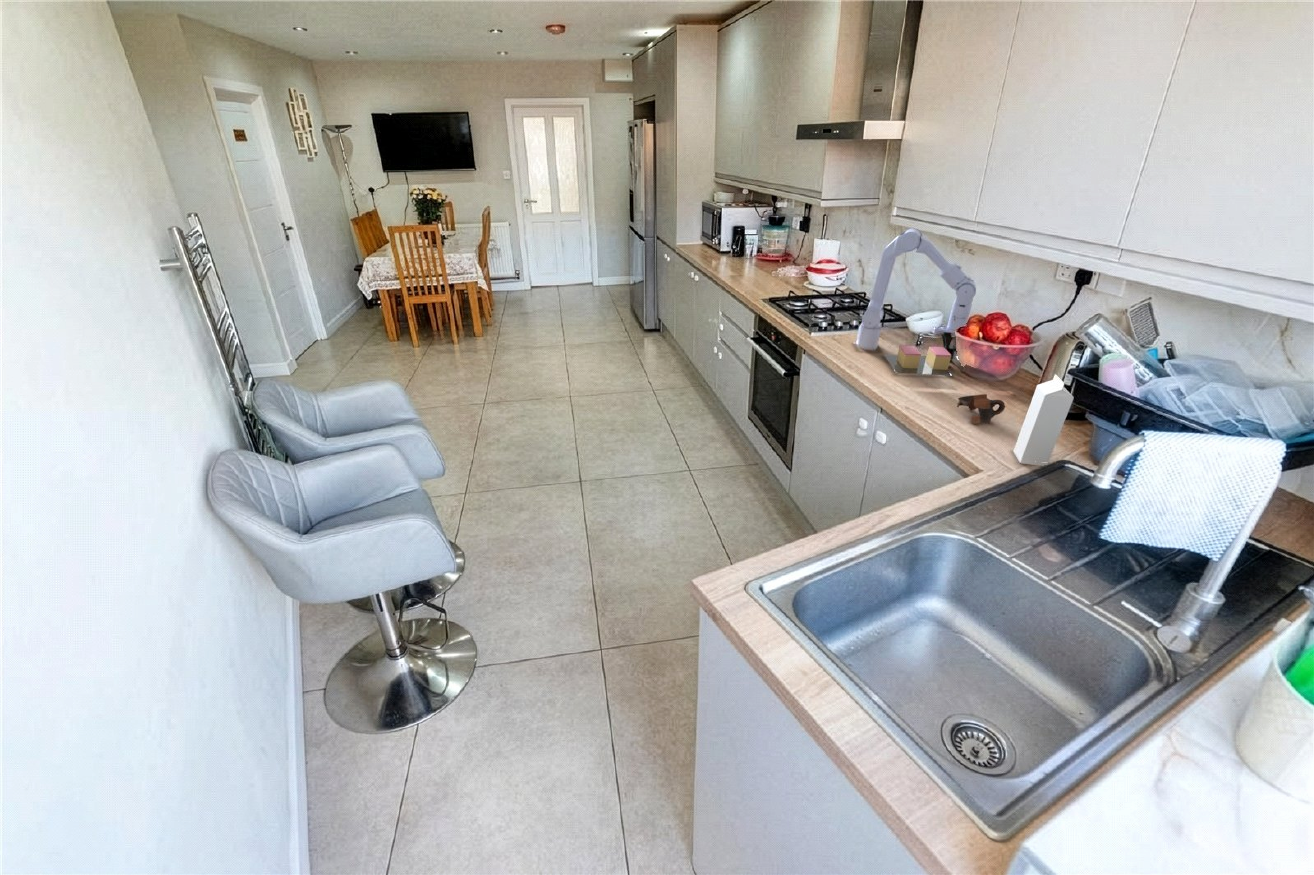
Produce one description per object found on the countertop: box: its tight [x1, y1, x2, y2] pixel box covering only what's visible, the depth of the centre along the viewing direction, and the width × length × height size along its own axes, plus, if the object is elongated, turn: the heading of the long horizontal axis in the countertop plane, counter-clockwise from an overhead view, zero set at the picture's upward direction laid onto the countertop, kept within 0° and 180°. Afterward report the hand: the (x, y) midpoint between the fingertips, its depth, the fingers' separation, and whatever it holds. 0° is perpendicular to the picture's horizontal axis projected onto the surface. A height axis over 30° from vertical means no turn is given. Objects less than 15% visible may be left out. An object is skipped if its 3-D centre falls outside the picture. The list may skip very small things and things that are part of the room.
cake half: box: [897, 345, 922, 369], centre depth 195 cm, size 8×5×5 cm, turn 174°
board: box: [883, 354, 952, 376], centre depth 197 cm, size 18×18×1 cm
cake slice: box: [925, 346, 951, 371], centre depth 194 cm, size 8×5×5 cm, turn 174°
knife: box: [948, 343, 966, 373], centre depth 195 cm, size 17×2×4 cm, turn 174°
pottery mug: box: [956, 393, 1006, 425], centre depth 161 cm, size 12×10×8 cm
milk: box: [1013, 374, 1075, 467], centre depth 136 cm, size 6×6×22 cm
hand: (949, 353), depth 200 cm, fingers closed on knife, 2 cm apart
